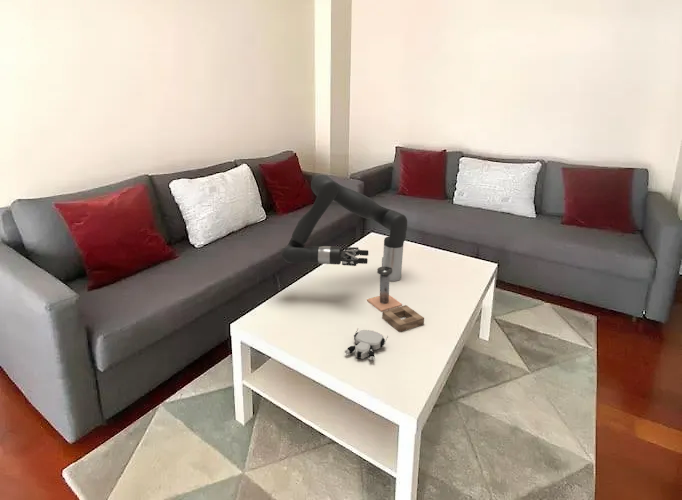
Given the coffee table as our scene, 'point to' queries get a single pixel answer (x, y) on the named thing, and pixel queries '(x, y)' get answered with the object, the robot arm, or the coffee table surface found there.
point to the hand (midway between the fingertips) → (367, 256)
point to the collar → (403, 324)
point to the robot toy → (366, 343)
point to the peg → (384, 283)
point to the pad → (383, 307)
